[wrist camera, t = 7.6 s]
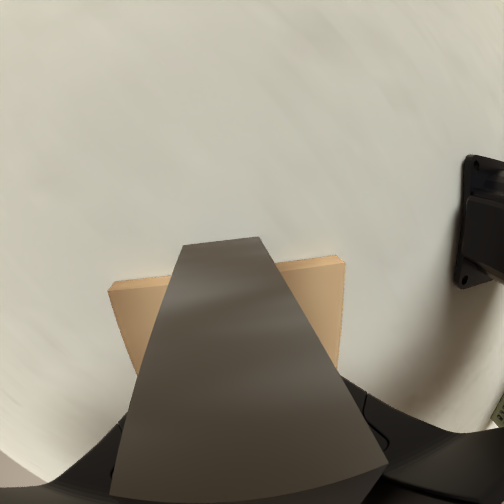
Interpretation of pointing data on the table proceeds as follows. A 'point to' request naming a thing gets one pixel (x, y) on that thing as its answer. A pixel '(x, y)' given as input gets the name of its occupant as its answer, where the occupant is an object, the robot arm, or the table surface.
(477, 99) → the table surface
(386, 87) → the table surface
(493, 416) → the handheld radio
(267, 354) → the scraper
